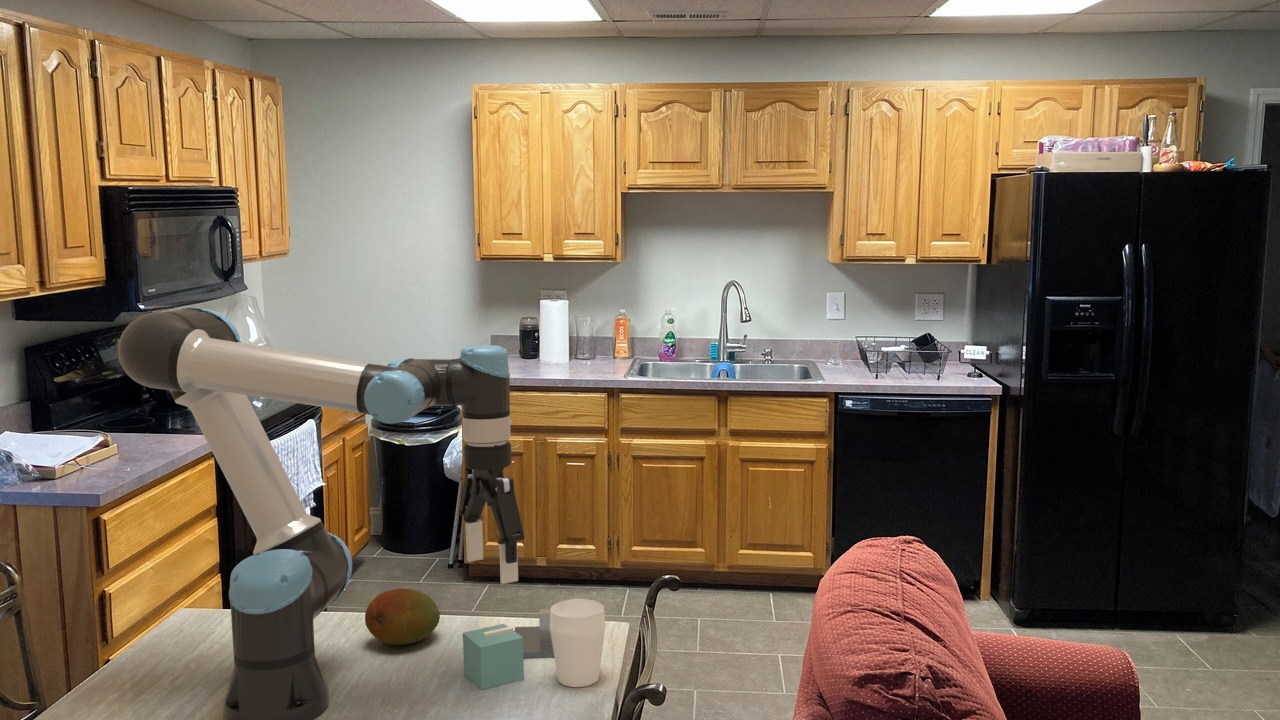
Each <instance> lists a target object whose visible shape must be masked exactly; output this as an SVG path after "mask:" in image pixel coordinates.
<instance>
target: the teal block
mask: <svg viewBox="0 0 1280 720" xmlns="http://www.w3.org/2000/svg"><path fill="white" fill-rule="evenodd" d="M462 650H463V651H462V655H463V658H462V659H463V674H464V675H465V676H466V677H467V678H468V679H469V680H471V681H472V682H473V684H475V685H476V686H477V687H479V689H480V690H485V689H491V688H494V687H497V686H501V685H505V684H509V683H513V682H518V681H521V680H524V679H525V675H524V673H525V671H524V667H525V665H524V658H523V637H521V636H520V635H519V634H517V633H516V632H515V630H514V627H512V626H508V625H507V624H505V623H501V624H496V625H491V626H487V627H482V628H479V629H474V630H469V631H465V632H462Z"/></svg>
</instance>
